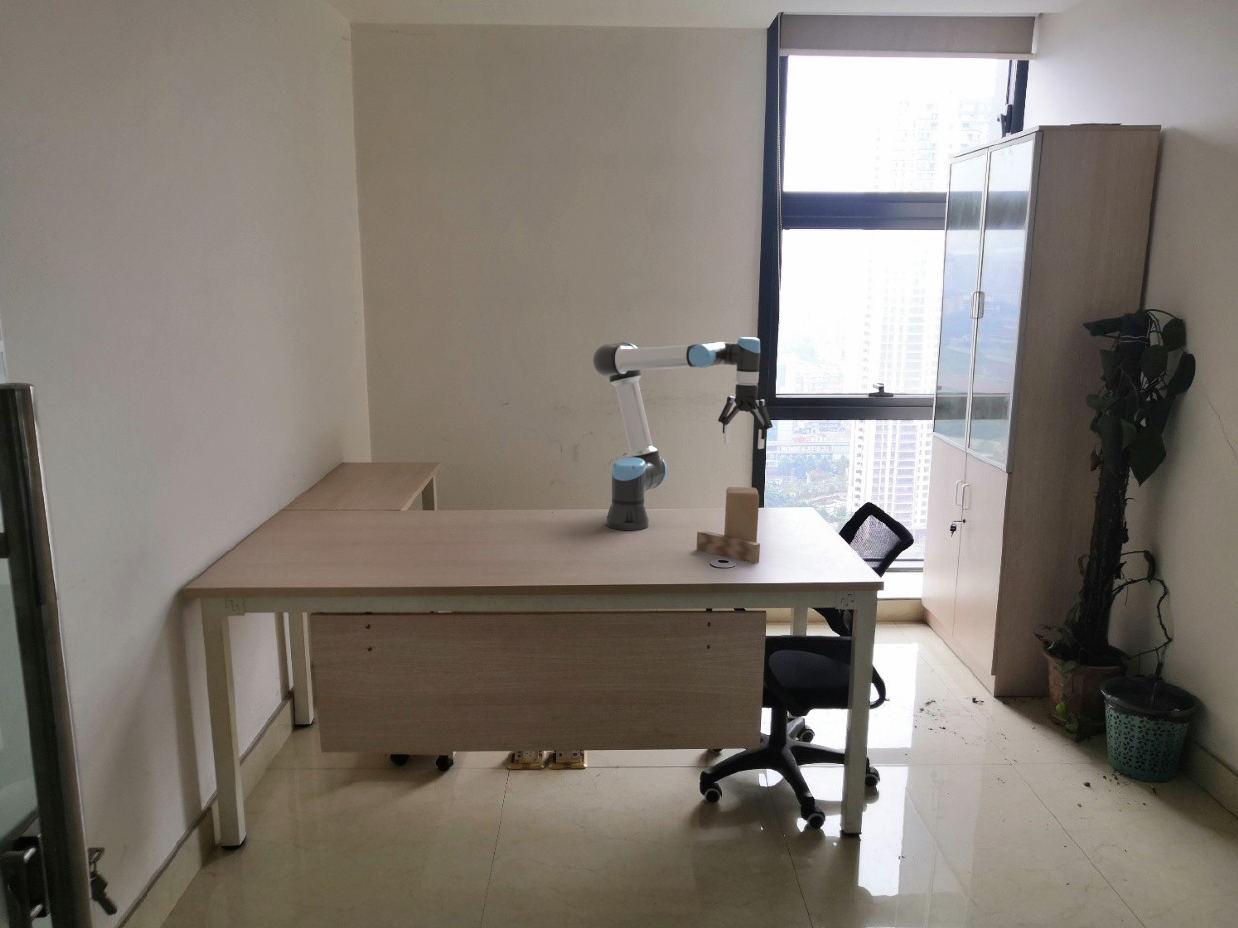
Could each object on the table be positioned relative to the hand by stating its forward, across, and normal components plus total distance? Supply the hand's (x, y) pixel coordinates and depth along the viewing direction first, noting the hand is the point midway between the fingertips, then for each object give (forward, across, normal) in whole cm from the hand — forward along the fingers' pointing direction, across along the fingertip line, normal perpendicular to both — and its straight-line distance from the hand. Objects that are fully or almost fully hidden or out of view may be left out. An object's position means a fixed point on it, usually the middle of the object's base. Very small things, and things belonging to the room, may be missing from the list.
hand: (743, 445), depth 305 cm
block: (+31, -11, +18) cm, 37 cm away
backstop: (+31, -12, +26) cm, 42 cm away
